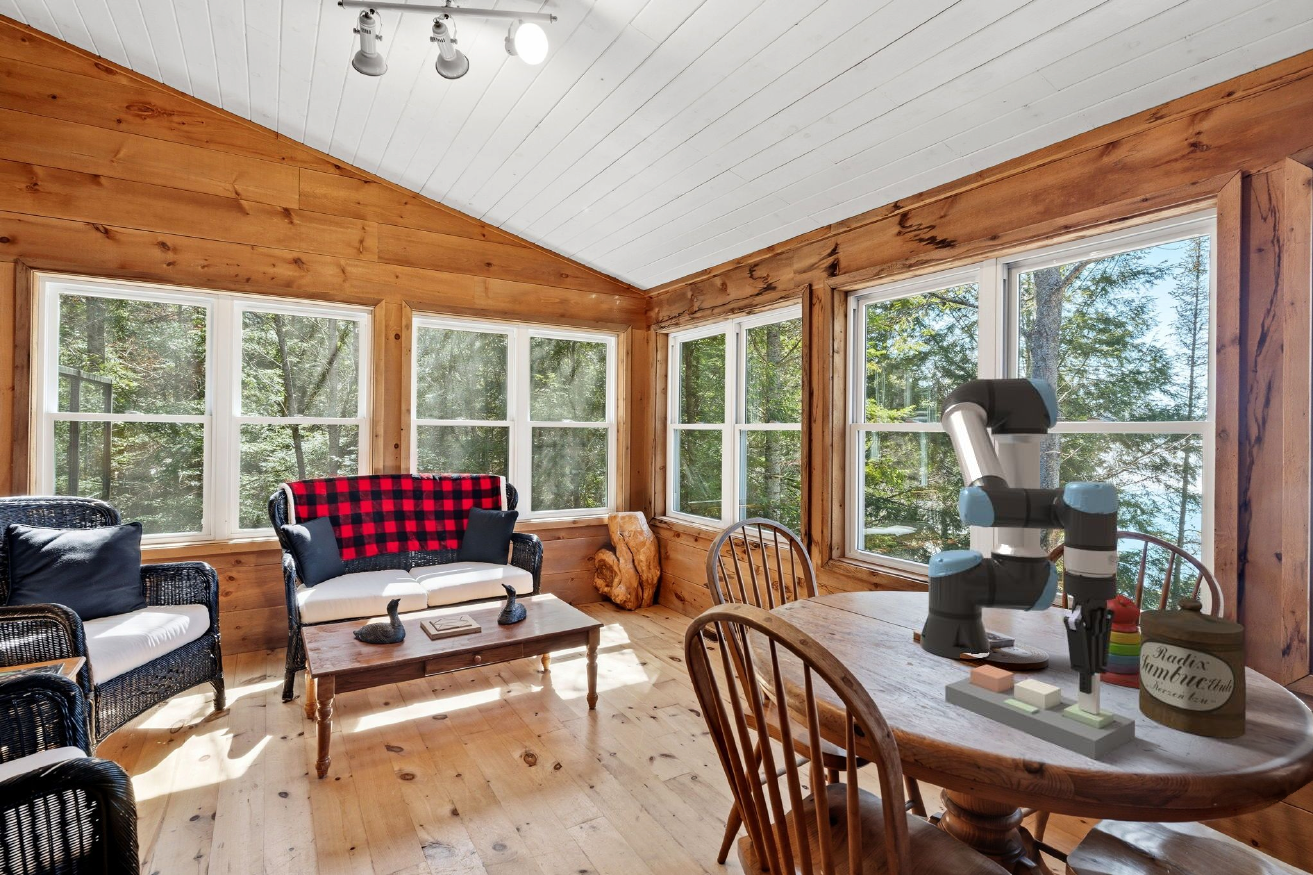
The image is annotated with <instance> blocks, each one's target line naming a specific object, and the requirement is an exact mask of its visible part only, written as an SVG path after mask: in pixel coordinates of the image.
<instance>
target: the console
mask: <svg viewBox="0 0 1313 875" xmlns="http://www.w3.org/2000/svg"><path fill="white" fill-rule="evenodd" d="M970 680H971V676H970V677H967V678H964V679H960V680H958V681H954V682H952V683H948V684H946V685H945V686H944V687H945V688H944V689H945V691H944V692H945V693H944V694H945V695H944V698H945V699H944V700H945V702H947V703H950V704H952V705H955V706H958V707H960V708H963V709H965V710H966V711H967V710H968V711H970V712H973V713H975V714H978V715H980V716H982V717H986V718H988V719H990V720H993V721H995V722H997V723H1000V724H1003V725H1006V726H1008V727H1011V728H1014V729H1016V730H1019V731H1021V732H1023V733H1025V734H1028V735H1031V736H1034V737H1037V738H1038V739H1041V740H1044V741H1047V742H1049V743H1051V744H1055V745H1056V746H1059V747H1061V748H1064V749H1066V750H1068V751H1072V752H1074V753H1076V754H1078V755H1082V756H1084V757H1086V758H1087V757H1088V758H1090V759H1092V760H1097V759H1099V758H1101V757H1103V756H1104V755H1106V754H1108V753H1110V752H1111V751H1113V750H1115V749H1117V748H1119V747H1121V746H1122V745H1124V744H1126V743H1128V742H1130V741H1131V740H1133V739H1135V738H1136V720H1135V719H1132V718H1130V717H1127V716H1123V715H1121V714H1118V713H1116V712H1115V713H1114V712H1112V711H1108V710H1105V709H1102V708H1100V709H1101V710H1104V711H1107V712H1110V713H1113V714H1114V723H1112V724H1110V725H1108V726H1106V727H1104V728H1102V729H1097V728H1094V727H1091V726H1088V725H1086V724H1083V723H1080V722H1077V721H1074V720H1072V719H1069V718H1066V717H1064V709H1065V708H1068V707H1070V706H1072V705H1075V704H1077V703H1078V700H1075V699H1073V698H1068V697H1065V696H1064V695H1061V704H1059V705H1057V706H1055V707H1052V708H1050V709H1048V710H1043V709H1041V708H1038V707H1035V706H1032V705H1029V704H1026V703H1024V702H1021V701H1018V700H1015V699H1014V688H1012V689H1009V690H1006V691H1004V692H1001V693H995V692H993V691H990V690H987V689H984V688H981V687H979V686H976V685H973V684H970ZM1019 682H1020V681H1018V680H1015V679H1014V684H1017V683H1019Z"/></svg>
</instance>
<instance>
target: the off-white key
mask: <svg viewBox="0 0 1313 875" xmlns="http://www.w3.org/2000/svg"><path fill="white" fill-rule="evenodd" d="M1018 682H1019V683H1017V684H1014V699H1015V700H1018V701H1021V702H1024V703H1026V704H1029V705H1032V706H1035V707H1038V708H1041V709H1043V710H1048V709H1050V708H1052V707H1055V706H1057V705H1059V704H1061V696H1062V695H1061V694H1062V692H1061V690H1062V689H1061V687H1057V686H1055V685H1051V684H1048V683H1046V682H1041V681H1039V680H1036V679H1033V678H1027V679H1025V680H1023V681H1022V680H1021V681H1018Z"/></svg>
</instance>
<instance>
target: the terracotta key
mask: <svg viewBox="0 0 1313 875" xmlns="http://www.w3.org/2000/svg"><path fill="white" fill-rule="evenodd" d="M1014 676H1015V674H1014V672H1011V671H1007V670H1005V669H1002V668H998V667H995V666H993V665H990V664H984V665H981V666H978V667H975V668H972V669H970V677H971V680H970V684H973V685H976V686H979V687H981V688H984V689H987V690H990V691H993V692H995V693H1001V692H1004V691H1006V690H1009V689H1012V688H1014V680H1015V679H1014V678H1015V677H1014Z"/></svg>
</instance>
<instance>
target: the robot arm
mask: <svg viewBox="0 0 1313 875" xmlns="http://www.w3.org/2000/svg"><path fill="white" fill-rule="evenodd" d="M939 411H940V413H939V414H940V415H939V416H940V417H939V418H940V419H939V420H940V423H941V426H942V430H944V432H945V433H946V434H948V435H949V437H950V439H951V443H952V446H953V449H954V454H955V456H956V459H957V460H956V461H957V463H958V466H959V470H960V473H961V476H962V479H963V484H964V486H965V487H962V488H961V489H960V491H959V494H958V503H957V504H958V514H959V518H960V520H961V522H962V523H963V524H964V525H966V526H974V527H981V528H997V538H998V539H997V543H996V545H995V546H993V547H992V548H991V549H990V557H984V555H983V553H982V552H981V551H978V550H974V549H969V550H968V549H954V550H951V549H950V550H943V551H940V552H937V553H935V554H933V555H932V556H931V557H930V558H929V561H928V562H929V564H928V571H927V575H928V613H927V617H926V619H925V622H924V625H923V627H922V628H923V629H922V630H921V634H920V640H919V642H920V647H921V648H922V649H923V650H925V651H927V652H929V653H931V654H934V655H938V656H941V657H944V658H950V659H956V660H957V659H958V660H961V659H960V654H962V653H971V654H979V653H988V652H989V651H990V652H991V644H990V641H989V637H988V634H987V631H986V627H985V626H984V622H983V609H985V608H986V609H997V610H998V609H999V610H1000V609H1001V610H1011V611H1012V610H1013V611H1015V610H1016V611H1024V612H1032V611H1034V612H1035V611H1036V612H1043V611H1044V612H1045V611H1047V610H1048V609H1050V608H1051V607H1052V605H1053V604H1054V602H1055V600H1056V597H1057V594H1058V589H1059V574H1058V568H1057V566H1056V563H1054V562H1053V561H1051V560H1050V559H1048V558H1049V557H1048V556H1049V554H1048V552H1047V551H1045V549H1043V548H1042V546H1041V530H1063V532H1064V539H1063V540H1064V542H1063V567H1064V568H1065V569H1066V570H1065V572H1063V591H1064V592H1065V593H1066V594H1067V595H1070V596H1071V597H1072V598H1073V599H1072V604H1071V615H1070V616H1067V615H1066V616H1064V617H1063V619H1062V620H1063V624H1064V627H1065V630H1066V637H1067V639H1066V640H1067V643H1068V644H1067V645H1068V655H1069V663H1070V669H1071V670H1072V671H1075V672H1077V674H1078V675H1077V676H1078V688H1077V689H1078V692H1077V693H1078V694H1077V696H1078V697H1077V698H1078V699H1077V701H1078V709H1081V710H1084V711H1087V712H1090V713H1093V714H1098V713H1100V709H1101V680H1100V674H1099V673H1102V674H1106V673H1107V670H1105V669H1102V666H1103V667H1106V666H1107V662H1108V653H1109V645H1110V637H1111V628H1112V622H1113V619H1114V615H1115V611H1114V610H1111V609H1108V608H1107V600H1112V599H1115V598H1116V597H1117V594H1118V578H1117V577H1116V576H1115V574H1116V573H1117V572H1118V568H1117V565H1118V563H1119V562H1120V560H1121V559H1120V557H1118V554H1117V553H1118V550H1117V549H1118V521H1119V518H1118V515H1119V514H1118V513H1119V512H1118V511H1119V506H1120V504H1119V501H1118V489H1117V488H1116V486H1115V485H1114V484H1112V483H1110V482H1099V481H1098V482H1097V481H1070V482H1069V481H1068V483H1066V484H1065V487H1053V488H1041V442H1042V441H1044V440H1045V439H1046V438H1048V436H1049V432H1048V431H1049V430H1050V429H1053V428H1054V427H1055V426H1056V425H1057V423H1058V417H1059V406H1058V400H1057V395H1056V392H1055V390H1054V388H1053V387H1052V385H1051V384H1050V383H1049V382H1048V380H1045V379H1041V378H1031V377H1030V378H1029V377H1022V378H1021V377H1020V378H1018V377H1017V378H1015V377H1014V378H975V379H972V380H968V381H965V382H963V383H961V384H959V385H958V386H956V387H955V388H954V389H953V390H951V391H950V392H949V393H948V395H947V396H946V397H945V399H944V401H943V402H942V404H941V408H940V410H939ZM988 429H990V430H991V431H990V432H991V433H989V431H988ZM1048 429H1049V430H1048ZM990 434H991V436H990ZM991 438H992V439H993V440H995V441H996V442H997V444H998V449H997V451H996V449H995V447H994V443H993V441H992V439H991ZM997 452H998V454H997Z"/></svg>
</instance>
